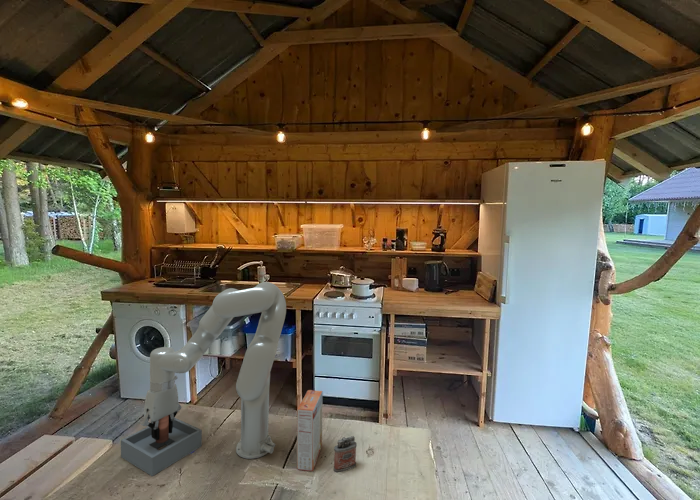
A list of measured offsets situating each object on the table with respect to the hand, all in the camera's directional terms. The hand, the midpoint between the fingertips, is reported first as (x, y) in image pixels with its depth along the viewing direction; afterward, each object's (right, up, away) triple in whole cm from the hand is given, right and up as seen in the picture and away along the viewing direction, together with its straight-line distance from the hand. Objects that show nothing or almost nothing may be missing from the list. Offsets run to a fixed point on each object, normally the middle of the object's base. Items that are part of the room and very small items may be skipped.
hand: (162, 434), depth 119 cm
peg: (0, -2, 0) cm, 2 cm away
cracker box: (+52, -8, -1) cm, 52 cm away
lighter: (+64, -8, -5) cm, 65 cm away
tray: (0, -6, 0) cm, 6 cm away
